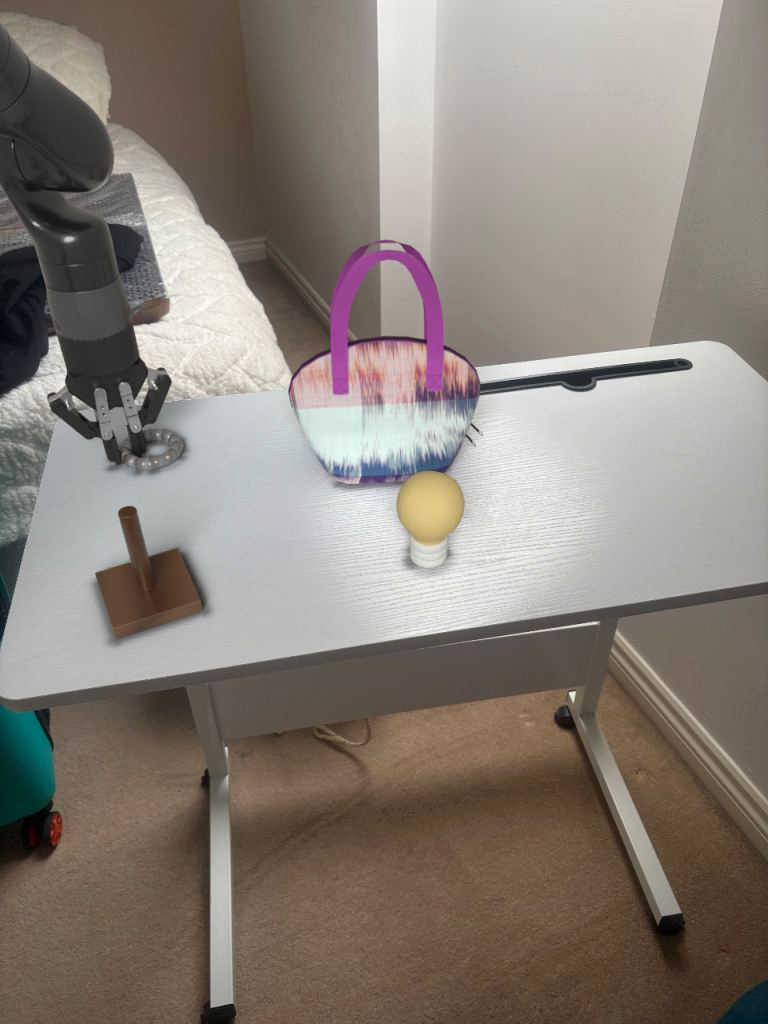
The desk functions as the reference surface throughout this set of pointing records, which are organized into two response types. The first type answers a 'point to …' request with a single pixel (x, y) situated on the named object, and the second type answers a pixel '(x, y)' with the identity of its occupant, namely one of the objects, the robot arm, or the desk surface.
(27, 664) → the desk surface
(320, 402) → the handbag
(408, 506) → the light bulb
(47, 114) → the robot arm
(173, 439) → the grey beaded ring
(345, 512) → the desk surface
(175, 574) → the stand
